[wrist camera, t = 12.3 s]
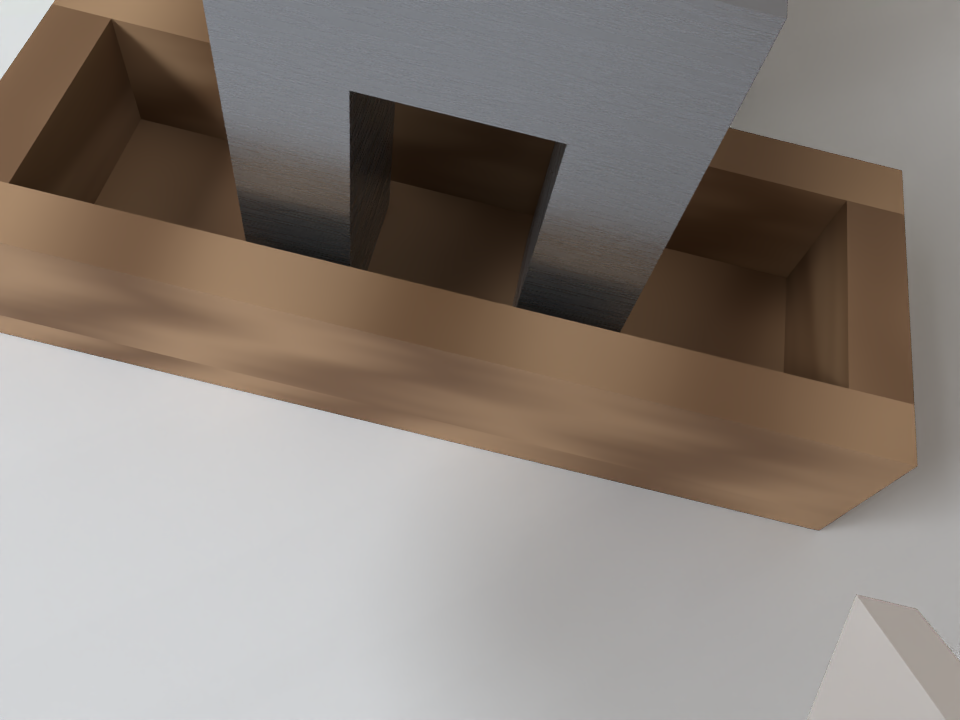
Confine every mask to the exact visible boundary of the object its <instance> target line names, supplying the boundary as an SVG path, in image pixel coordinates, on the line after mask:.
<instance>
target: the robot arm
mask: <svg viewBox="0 0 960 720" xmlns="http://www.w3.org/2000/svg"><path fill="white" fill-rule="evenodd" d="M807 720H960V661H959V660H958V658H957V657H956V656H955V655H954V653H953V652H952V651H951V650H950V649H949V647H948V646H947V645H946V644H945V643H944V641H943V640H942V639H941V638H940V636H939V635H938V634H937V633H936V632H935V630H934V629H933V628H932V627H931V626H930V624H929V623H928V622H927V621H926V619H925V618H924V617H923V616H922V615H921V613H920V612H919V611H918V610H917V609H915V608H911V607H906V606H902V605H898V604H894V603H890V602H885V601H881V600H877V599H873V598H869V597H864V596H860V595H856V596H855V599H854V602H853V604H852V607H851V609H850V612H849V614H848V617H847V619H846V622H845V624H844V627H843V629H842V632H841V634H840V637H839V640H838V642H837V645H836V647H835V650H834V652H833V655H832V657H831V660H830V662H829V665H828V667H827V670H826V672H825V675H824V678H823V680H822V683H821V685H820V688H819V690H818V693H817V695H816V698H815V700H814V703H813V705H812V708H811V711H810V713H809V716H808V718H807Z"/></svg>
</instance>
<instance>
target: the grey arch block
mask: <svg viewBox="0 0 960 720" xmlns="http://www.w3.org/2000/svg"><path fill="white" fill-rule="evenodd" d="M787 3H788V0H203V6H204V12H205V17H206V23H207V28H208V34H209V39H210V45H211V50H212V56H213V62H214V67H215V73H216V78H217V84H218V89H219V95H220V100H221V106H222V112H223V117H224V123H225V128H226V134H227V139H228V145H229V150H230V156H231V162H232V167H233V173H234V178H235V184H236V189H237V195H238V200H239V206H240V212H241V217H242V223H243V228H244V234H245V239H246V241H247V242H251V243H255V244H259V245H263V246H267V247H271V248H275V249H279V250H283V251H288V252H292V253H296V254H300V255H304V256H308V257H312V258H316V259H320V260H324V261H328V262H333V263H337V264H341V265H345V266H349V267H353V268H357V269H361V270H365V271H367V270H368V267H369V263H370V260H371V257H372V254H373V251H374V248H375V245H376V242H377V239H378V236H379V233H380V230H381V227H382V224H383V221H384V218H385V215H386V212H387V209H388V206H389V200H390V182H391V165H392V148H393V130H394V113H395V102H398V103H402V104H406V105H410V106H414V107H418V108H422V109H426V110H430V111H434V112H438V113H442V114H446V115H450V116H455V117H459V118H463V119H467V120H471V121H475V122H479V123H483V124H487V125H491V126H495V127H499V128H503V129H507V130H511V131H515V132H519V133H523V134H527V135H532V136H536V137H540V138H544V139H548V140H552V141H556V142H555V145H554V148H553V152H552V155H551V159H550V162H549V166H548V169H547V172H546V176H545V179H544V183H543V186H542V190H541V193H540V196H539V200H538V203H537V207H536V210H535V214H534V217H533V220H532V224H531V227H530V231H529V234H528V237H527V242H526V246H525V251H524V255H523V260H522V264H521V269H520V274H519V278H518V283H517V287H516V292H515V296H514V301H513V305H512V306H513V307H517V308H521V309H525V310H529V311H533V312H537V313H541V314H545V315H549V316H553V317H558V318H562V319H566V320H570V321H574V322H578V323H582V324H586V325H590V326H594V327H598V328H603V329H607V330H611V331H615V332H619V333H620V331H621V330H622V328H623V326H624V324H625V322H626V320H627V318H628V316H629V315H630V313H631V311H632V309H633V307H634V305H635V303H636V301H637V299H638V298H639V296H640V294H641V292H642V290H643V288H644V286H645V284H646V282H647V281H648V279H649V277H650V275H651V273H652V271H653V269H654V267H655V266H656V264H657V262H658V260H659V258H660V256H661V254H662V252H663V250H664V249H665V247H666V245H667V243H668V241H669V239H670V237H671V235H672V234H673V232H674V230H675V228H676V226H677V224H678V222H679V220H680V218H681V217H682V215H683V213H684V211H685V209H686V207H687V205H688V203H689V202H690V200H691V198H692V196H693V194H694V192H695V190H696V188H697V186H698V185H699V183H700V181H701V179H702V177H703V175H704V173H705V171H706V170H707V168H708V166H709V164H710V162H711V160H712V158H713V156H714V154H715V153H716V151H717V149H718V147H719V145H720V143H721V141H722V139H723V137H724V136H725V134H726V132H727V130H728V128H729V126H730V124H731V122H732V121H733V119H734V117H735V115H736V113H737V111H738V109H739V107H740V105H741V104H742V102H743V100H744V98H745V96H746V94H747V92H748V90H749V89H750V87H751V85H752V83H753V81H754V79H755V77H756V75H757V73H758V72H759V70H760V68H761V66H762V64H763V62H764V60H765V58H766V57H767V55H768V53H769V51H770V49H771V47H772V45H773V43H774V41H775V40H776V38H777V36H778V34H779V32H780V30H781V28H782V26H783V25H784V23H785V21H786V19H787Z"/></svg>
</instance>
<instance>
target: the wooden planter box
mask: <svg viewBox="0 0 960 720" xmlns="http://www.w3.org/2000/svg"><path fill="white" fill-rule="evenodd" d="M555 142H556V141H552V140H548V139H544V138H540V137H536V136H532V135H527V134H523V133H519V132H515V131H511V130H507V129H503V128H499V127H495V126H491V125H487V124H483V123H479V122H475V121H471V120H467V119H463V118H459V117H455V116H450V115H446V114H442V113H438V112H434V111H430V110H426V109H422V108H418V107H414V106H410V105H406V104H402V103H398V102H395V113H394V130H393V148H392V165H391V182H390V200H389V206H388V209H387V212H386V215H385V218H384V221H383V224H382V227H381V230H380V233H379V236H378V239H377V242H376V245H375V248H374V251H373V254H372V257H371V260H370V263H369V267H368V270H367V271H365V270H361V269H357V268H353V267H349V266H345V265H341V264H337V263H333V262H328V261H324V260H320V259H316V258H312V257H308V256H304V255H300V254H296V253H292V252H288V251H283V250H279V249H275V248H271V247H267V246H263V245H259V244H255V243H251V242H247V241H246V239H245V234H244V228H243V223H242V217H241V212H240V206H239V200H238V195H237V189H236V184H235V178H234V173H233V167H232V162H231V156H230V150H229V145H228V139H227V134H226V128H225V123H224V117H223V112H222V106H221V100H220V95H219V89H218V84H217V78H216V73H215V67H214V62H213V56H212V50H211V45H210V39H209V34H208V28H207V23H206V17H205V12H204V6H203V0H55V1H54V3H53V4H52V5H51V7H50V8H49V10H48V11H47V13H46V14H45V16H44V17H43V19H42V20H41V22H40V23H39V24H38V26H37V27H36V29H35V30H34V32H33V33H32V35H31V36H30V38H29V39H28V41H27V42H26V43H25V45H24V46H23V48H22V49H21V51H20V52H19V54H18V55H17V57H16V58H15V60H14V61H13V63H12V64H11V65H10V67H9V68H8V70H7V71H6V73H5V74H4V76H3V77H2V79H1V80H0V332H1V333H5V334H9V335H14V336H18V337H22V338H26V339H30V340H34V341H38V342H42V343H47V344H51V345H55V346H59V347H63V348H67V349H71V350H75V351H80V352H84V353H88V354H92V355H96V356H100V357H104V358H108V359H113V360H117V361H121V362H125V363H129V364H133V365H137V366H142V367H146V368H150V369H154V370H158V371H162V372H166V373H170V374H175V375H179V376H183V377H187V378H191V379H195V380H199V381H203V382H208V383H212V384H216V385H220V386H224V387H228V388H232V389H236V390H241V391H245V392H249V393H253V394H257V395H261V396H265V397H270V398H274V399H278V400H282V401H286V402H290V403H294V404H298V405H303V406H307V407H311V408H315V409H319V410H323V411H327V412H331V413H336V414H340V415H344V416H348V417H352V418H356V419H360V420H365V421H369V422H373V423H377V424H381V425H385V426H389V427H393V428H398V429H402V430H406V431H410V432H414V433H418V434H422V435H426V436H431V437H435V438H439V439H443V440H447V441H451V442H455V443H459V444H464V445H468V446H472V447H476V448H480V449H484V450H488V451H493V452H497V453H501V454H505V455H509V456H513V457H517V458H521V459H526V460H530V461H534V462H538V463H542V464H546V465H550V466H554V467H559V468H563V469H567V470H571V471H575V472H579V473H583V474H587V475H592V476H596V477H600V478H604V479H608V480H612V481H616V482H621V483H625V484H629V485H633V486H637V487H641V488H645V489H649V490H654V491H658V492H662V493H666V494H670V495H674V496H678V497H682V498H687V499H691V500H695V501H699V502H703V503H707V504H711V505H715V506H720V507H724V508H728V509H732V510H736V511H740V512H744V513H749V514H753V515H757V516H761V517H765V518H769V519H773V520H777V521H782V522H786V523H790V524H794V525H798V526H802V527H806V528H810V529H815V530H821V529H822V528H824V527H825V526H827V525H828V524H830V523H831V522H833V521H834V520H836V519H837V518H839V517H840V516H842V515H843V514H845V513H847V512H848V511H850V510H851V509H853V508H854V507H856V506H857V505H859V504H860V503H862V502H863V501H865V500H866V499H868V498H869V497H871V496H873V495H874V494H876V493H877V492H879V491H880V490H882V489H883V488H885V487H886V486H888V485H889V484H891V483H892V482H894V481H895V480H897V479H899V478H900V477H902V476H903V475H905V474H906V473H908V472H909V471H911V470H912V469H914V468H915V467H917V448H916V429H915V410H914V391H913V372H912V352H911V333H910V314H909V295H908V276H907V257H906V237H905V218H904V199H903V180H902V171H901V170H897V169H893V168H889V167H885V166H881V165H877V164H873V163H869V162H865V161H861V160H857V159H853V158H849V157H845V156H841V155H837V154H833V153H829V152H825V151H821V150H817V149H813V148H809V147H805V146H801V145H797V144H793V143H788V142H784V141H780V140H776V139H772V138H768V137H764V136H760V135H756V134H752V133H748V132H744V131H740V130H736V129H732V128H728V130H727V132H726V134H725V136H724V137H723V139H722V141H721V143H720V145H719V147H718V149H717V151H716V153H715V154H714V156H713V158H712V160H711V162H710V164H709V166H708V168H707V170H706V171H705V173H704V175H703V177H702V179H701V181H700V183H699V185H698V186H697V188H696V190H695V192H694V194H693V196H692V198H691V200H690V202H689V203H688V205H687V207H686V209H685V211H684V213H683V215H682V217H681V218H680V220H679V222H678V224H677V226H676V228H675V230H674V232H673V234H672V235H671V237H670V239H669V241H668V243H667V245H666V247H665V249H664V250H663V252H662V254H661V256H660V258H659V260H658V262H657V264H656V266H655V267H654V269H653V271H652V273H651V275H650V277H649V279H648V281H647V282H646V284H645V286H644V288H643V290H642V292H641V294H640V296H639V298H638V299H637V301H636V303H635V305H634V307H633V309H632V311H631V313H630V315H629V316H628V318H627V320H626V322H625V324H624V326H623V328H622V330H621V331H620V333H619V332H615V331H611V330H607V329H603V328H598V327H594V326H590V325H586V324H582V323H578V322H574V321H570V320H566V319H562V318H558V317H553V316H549V315H545V314H541V313H537V312H533V311H529V310H525V309H521V308H517V307H513V306H512V305H513V301H514V296H515V292H516V287H517V283H518V278H519V274H520V269H521V264H522V260H523V255H524V251H525V246H526V242H527V237H528V234H529V231H530V227H531V224H532V220H533V217H534V214H535V210H536V207H537V203H538V200H539V196H540V193H541V190H542V186H543V183H544V179H545V176H546V172H547V169H548V166H549V162H550V159H551V155H552V152H553V148H554V145H555Z"/></svg>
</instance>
